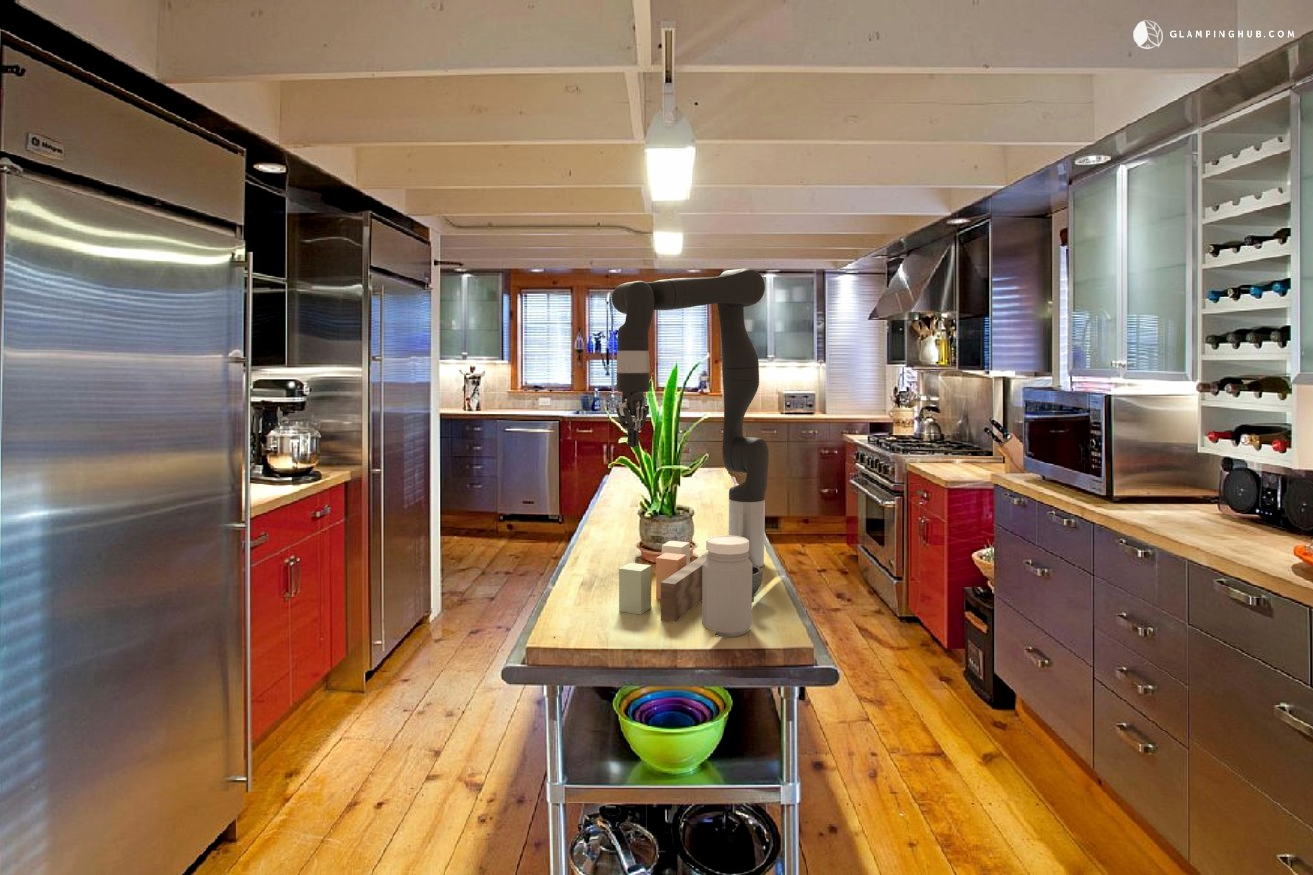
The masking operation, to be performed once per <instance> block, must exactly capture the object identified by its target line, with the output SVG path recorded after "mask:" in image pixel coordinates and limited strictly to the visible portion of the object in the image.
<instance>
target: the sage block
mask: <svg viewBox="0 0 1313 875" xmlns="http://www.w3.org/2000/svg"><path fill="white" fill-rule="evenodd" d="M651 608H652V565H651V564H643V563H636V562H628V563H626V564H625V565H623V566H621V567H620V568H618V611H619V612H621V613H622V612H623V613H628V614H634V615H643V614H644V613H645V612H647V611H648V610H650V609H651Z"/></svg>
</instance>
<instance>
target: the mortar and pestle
mask: <svg viewBox="0 0 1313 875" xmlns="http://www.w3.org/2000/svg"><path fill="white" fill-rule="evenodd" d="M748 559H749V560H750V556H749V557H748ZM762 582H763V570H762V567H755V566H752V603H754V602H755V598H754V594H756V593H757V592H758V591H759V589H760V588H761V585H762Z"/></svg>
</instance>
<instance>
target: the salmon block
mask: <svg viewBox="0 0 1313 875" xmlns="http://www.w3.org/2000/svg"><path fill="white" fill-rule="evenodd" d="M655 560H656V561H655V566H656V567H655V575H656V576H655V578H656V579H655V585H656V586H655V587H656V588H655V598H656V599H657V600H658V599H659V600H661V582H662V581H664V580H665V579H667V578H668V577H670V576H671V575H673V574H674V573H676V572H677V571H679V570H680V569H682V568H683V567H685V566H686V555H683V554H674V553H664V554H662V553H661V555H659V556H657V557H656V558H655Z"/></svg>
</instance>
